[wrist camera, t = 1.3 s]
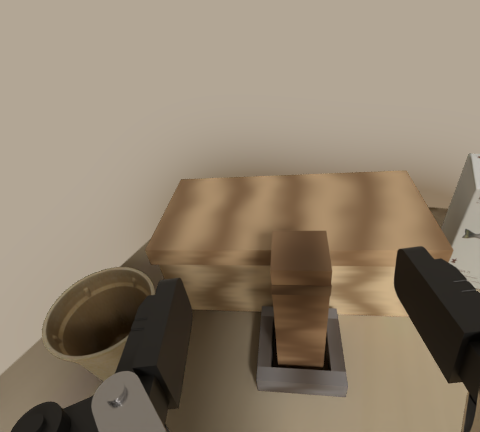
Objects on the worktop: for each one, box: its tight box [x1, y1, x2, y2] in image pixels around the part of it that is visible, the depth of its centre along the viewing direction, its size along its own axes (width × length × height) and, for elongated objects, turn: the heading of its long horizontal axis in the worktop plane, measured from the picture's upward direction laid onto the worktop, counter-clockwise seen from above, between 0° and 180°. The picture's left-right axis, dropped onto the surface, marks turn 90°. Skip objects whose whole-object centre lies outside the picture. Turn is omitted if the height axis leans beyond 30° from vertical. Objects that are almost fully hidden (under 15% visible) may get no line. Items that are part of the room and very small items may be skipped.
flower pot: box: [42, 267, 155, 382], centre depth 29 cm, size 9×9×9 cm
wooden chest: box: [145, 171, 454, 397], centre depth 33 cm, size 28×21×10 cm
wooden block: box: [270, 231, 332, 370], centre depth 26 cm, size 4×4×14 cm
